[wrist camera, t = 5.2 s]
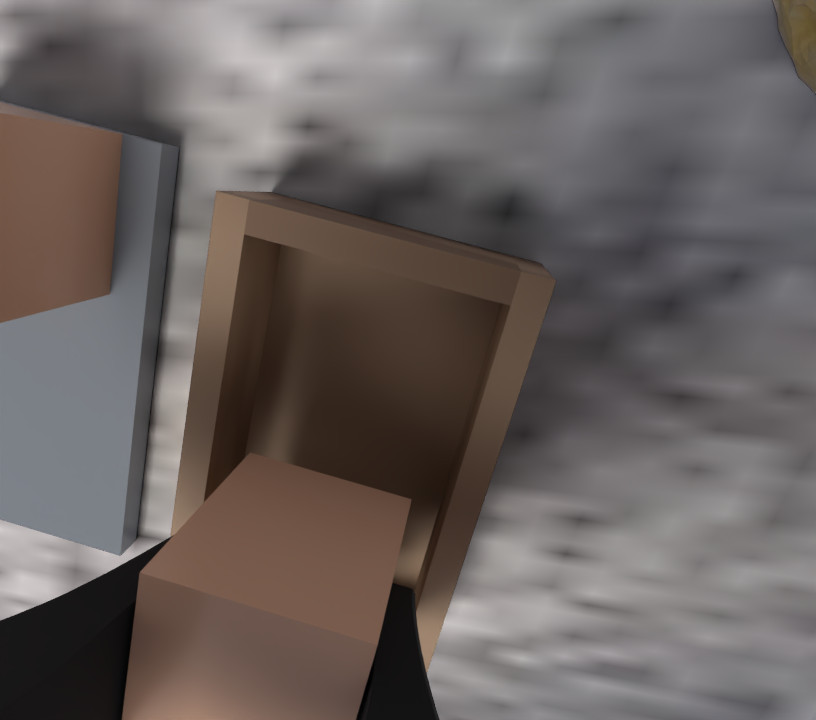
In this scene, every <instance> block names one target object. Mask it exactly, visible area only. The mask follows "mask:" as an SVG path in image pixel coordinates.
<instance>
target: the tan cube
mask: <svg viewBox="0 0 816 720" xmlns="http://www.w3.org/2000/svg"><path fill="white" fill-rule="evenodd" d="M122 135H123V134H121V133H117V132H113V131H109V130H105V129H102V128H98V127H94V126H90V125H86V124H82V123H79V122H75V121H71V120H67V119H63V118H60V117H56V116H52V115H48V114H44V113H40V112H37V111H33V110H29V109H25V108H21V107H17V106H14V105H10V104H6V103H2V102H0V323H2V322H6V321H10V320H14V319H18V318H22V317H25V316H29V315H33V314H37V313H41V312H44V311H48V310H52V309H56V308H60V307H64V306H67V305H71V304H75V303H79V302H83V301H86V300H90V299H94V298H98V297H102V296H106V295H109V294H110V285H111V272H112V260H113V247H114V235H115V223H116V210H117V198H118V185H119V173H120V160H121V148H122Z"/></svg>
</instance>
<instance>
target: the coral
mask: <svg viewBox="0 0 816 720" xmlns="http://www.w3.org/2000/svg"><path fill="white" fill-rule="evenodd" d="M773 3H774V6H775V9H776V12H777V15H778V28H779V32H780V34H781V37H782V39H783V42H784V44H785V46H786V48H787V50H788V52H789V54H790V56H791V58H792V59H793V62H794V65H795V68H796V71H797V74H798V77H799V78H800V79H801V80H802V81H803V82H805V83H806V84H807V86H808V87H809V88H810V89H811V90H812V91H813V92H814V93H815V94H816V0H773Z"/></svg>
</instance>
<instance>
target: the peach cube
mask: <svg viewBox="0 0 816 720" xmlns="http://www.w3.org/2000/svg"><path fill="white" fill-rule="evenodd" d="M411 500H412V499H409V498H405V497H402V496H399V495H395V494H392V493H388V492H385V491H381V490H378V489H374V488H371V487H368V486H364V485H361V484H357V483H354V482H350V481H347V480H343V479H340V478H337V477H333V476H330V475H326V474H323V473H319V472H316V471H313V470H309V469H306V468H302V467H299V466H295V465H292V464H288V463H285V462H282V461H278V460H275V459H271V458H268V457H264V456H261V455H257V454H254V453H251V452H250V453H249V454H248V455H247V456H246V457H245V459H244V460H243V461H242V462H241V463H240V464H239V465H238V466H237V467H236V468H235V469H234V470H233V472H232V473H231V474H230V475H229V476H228V477H227V478H226V479H225V480H224V481H223V482H222V484H221V485H220V486H219V487H218V488H217V489H216V490H215V491H214V492H213V493H212V494H211V495H210V497H209V498H208V499H207V500H206V501H205V502H204V503H203V504H202V505H201V506H200V507H199V509H198V510H197V511H196V512H195V513H194V514H193V515H192V516H191V517H190V518H189V519H188V520H187V522H186V523H185V524H184V525H183V526H182V527H181V528H180V529H179V530H178V531H177V532H176V533H175V535H174V536H173V537H172V538H171V539H170V540H169V541H168V542H167V543H166V544H165V545H164V547H163V548H162V549H161V550H160V551H159V552H158V553H157V554H156V555H155V556H154V557H153V558H152V560H151V561H150V562H149V563H148V564H147V565H146V566H145V567H144V568H143V569H142V570H141V572H140V574H139V582H138V590H137V598H136V607H135V615H134V623H133V631H132V640H131V648H130V656H129V664H128V673H127V681H126V689H125V697H124V706H123V714H122V720H356V718H357V714H358V711H359V707H360V704H361V700H362V697H363V693H364V690H365V687H366V683H367V680H368V676H369V673H370V669H371V666H372V662H373V659H374V656H375V652H376V649H377V645H378V641H379V637H380V633H381V628H382V624H383V620H384V615H385V611H386V607H387V603H388V598H389V594H390V590H391V586H392V581H393V577H394V573H395V569H396V564H397V560H398V556H399V552H400V547H401V543H402V539H403V534H404V530H405V526H406V522H407V517H408V513H409V509H410V505H411Z"/></svg>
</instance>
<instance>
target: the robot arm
mask: <svg viewBox="0 0 816 720" xmlns="http://www.w3.org/2000/svg"><path fill="white" fill-rule="evenodd" d="M173 536H174V535H173ZM173 536H171V537H170V538H168V539H166V540H165V541H163V542H161V543H159V544H158V545H156V546H154V547H152V548H151V549H149V550H147V551H146V552H144V553H142V554H140V555H139V556H137V557H135V558H133V559H131V560H129V561H128V562H126V563H124V564H122V565H120V566H119V567H117V568H115V569H113V570H111V571H109V572H108V573H106V574H104V575H102V576H100V577H98V578H96V579H94V580H92V581H90V582H88V583H86V584H84V585H82V586H80V587H78V588H76V589H74V590H72V591H70V592H68V593H66V594H63V595H61V596H59V597H57V598H55V599H52V600H50V601H48V602H46V603H43V604H41V605H39V606H36V607H34V608H31V609H29V610H26V611H24V612H21V613H19V614H16V615H14V616H11V617H9V618H6V619H4V620H1V621H0V720H122V714H123V706H124V697H125V689H126V681H127V673H128V664H129V656H130V648H131V640H132V631H133V623H134V615H135V607H136V598H137V590H138V582H139V574H140V572H141V570H142V569H143V568H144V567H145V566H146V565H147V564H148V563H149V562H150V561H151V560H152V558H153V557H154V556H155V555H156V554H157V553H158V552H159V551H160V550H161V549H162V548H163V547H164V545H165V544H166V543H167V542H168V541H169V540H170V539H171V538H172V537H173ZM356 720H439V717H438V714H437V711H436V707H435V704H434V700H433V697H432V693H431V689H430V686H429V682H428V678H427V673H426V669H425V664H424V659H423V655H422V650H421V645H420V639H419V633H418V626H417V618H416V605H415V593H414V591H413V589H412V588H408V587H405V586H402V585H398V584H395V583H392V586H391V590H390V594H389V598H388V603H387V607H386V611H385V615H384V620H383V624H382V628H381V633H380V637H379V641H378V645H377V649H376V652H375V656H374V659H373V662H372V666H371V669H370V673H369V676H368V680H367V683H366V687H365V690H364V693H363V697H362V700H361V704H360V707H359V711H358V714H357V718H356Z"/></svg>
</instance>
